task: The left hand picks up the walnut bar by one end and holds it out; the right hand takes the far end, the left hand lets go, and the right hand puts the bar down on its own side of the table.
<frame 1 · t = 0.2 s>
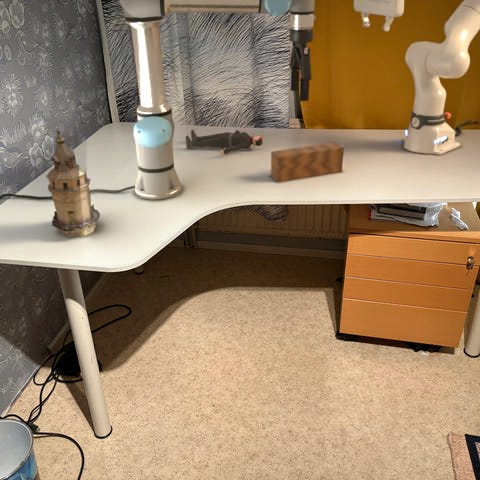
left hand: (299, 95, 180), 27 cm above the table, tool pointing down, fingers open, 13 cm apart
right hand: (375, 29, 175), 46 cm above the table, tool pointing down, fingers open, 8 cm apart
toy: (225, 147, 214), on the table
miniature building: (78, 229, 156), on the table
bar: (306, 174, 189), on the table
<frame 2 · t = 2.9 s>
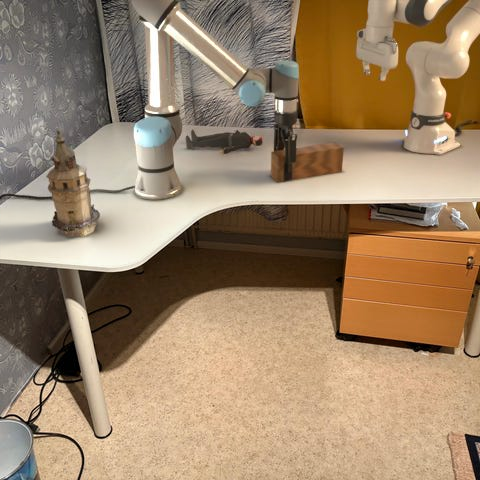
left hand: (283, 176, 187), 0 cm above the table, tool pointing down, fingers closed on bar, 6 cm apart
right hand: (374, 77, 184), 31 cm above the table, tool pointing down, fingers open, 8 cm apart
bar: (306, 174, 189), on the table, touching left hand
everything else where it was.
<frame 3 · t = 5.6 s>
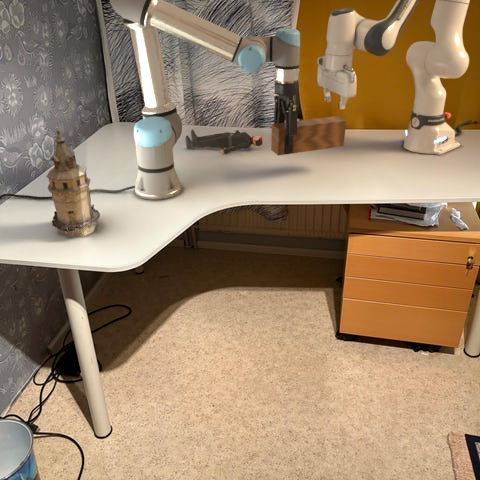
left hand: (284, 150, 182), 10 cm above the table, tool pointing down, fingers closed on bar, 6 cm apart
right hand: (334, 105, 181), 24 cm above the table, tool pointing down, fingers open, 8 cm apart
bar: (307, 148, 185), point 10 cm above the table, touching left hand
everything else where it was.
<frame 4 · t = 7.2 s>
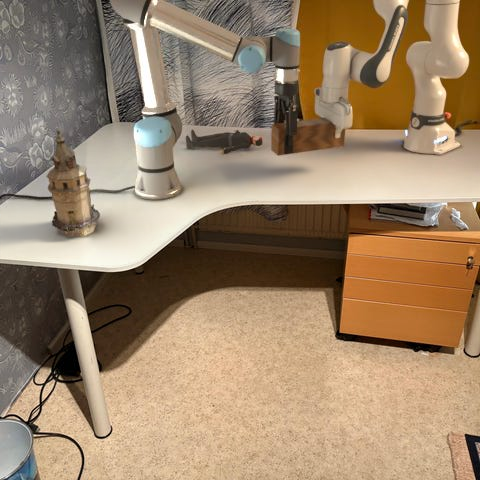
left hand: (284, 150, 182), 10 cm above the table, tool pointing down, fingers closed on bar, 6 cm apart
right hand: (331, 134, 185), 13 cm above the table, tool pointing down, fingers closed on bar, 6 cm apart
bar: (307, 148, 185), point 10 cm above the table, touching left hand, right hand
everything else where it was.
when the left hand's fingers open (10 cm above the table, at t = 8.3 s): bar stays where it is, held by the right hand.
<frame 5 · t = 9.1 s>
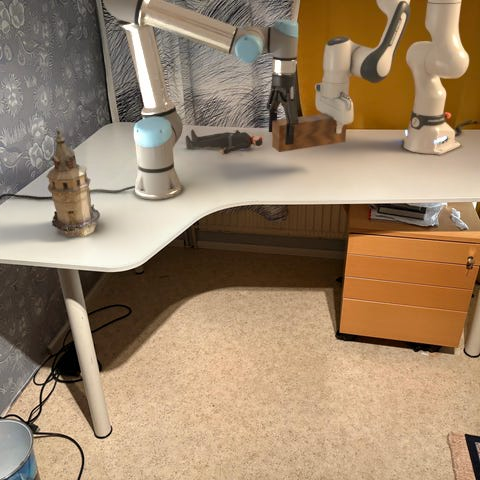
left hand: (280, 137, 179), 15 cm above the table, tool pointing down, fingers open, 13 cm apart
right hand: (332, 129, 185), 15 cm above the table, tool pointing down, fingers closed on bar, 6 cm apart
bar: (308, 144, 184), point 11 cm above the table, touching right hand
everything else where it was.
when the right hand's fingers open (6 cm above the table, at t = 12.9 s): bar drops 1 cm, on the table.
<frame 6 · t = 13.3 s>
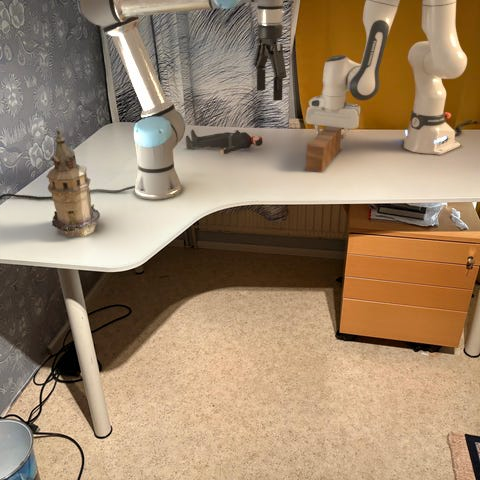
left hand: (269, 95, 171), 29 cm above the table, tool pointing down, fingers open, 13 cm apart
right hand: (331, 137, 206), 6 cm above the table, tool pointing down, fingers open, 8 cm apart
bar: (323, 159, 202), on the table
everything else where it was.
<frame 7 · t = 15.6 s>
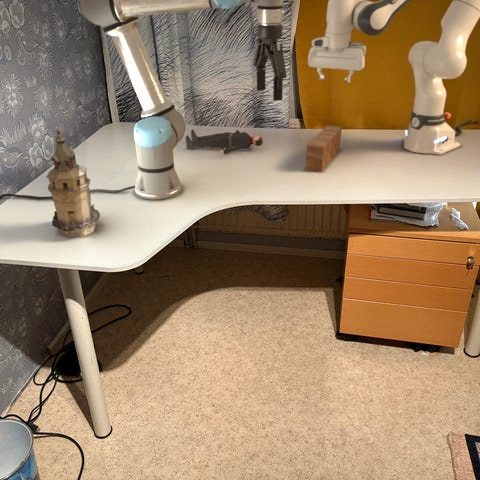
left hand: (269, 95, 171), 29 cm above the table, tool pointing down, fingers open, 13 cm apart
right hand: (334, 81, 195), 27 cm above the table, tool pointing down, fingers open, 8 cm apart
nothing on the table moved.
at the end: bar inside the target area (8.6 cm from its centre), on the table; the left hand is holding nothing; the right hand is holding nothing; bar at rest at the end (0.0 cm/s) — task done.
